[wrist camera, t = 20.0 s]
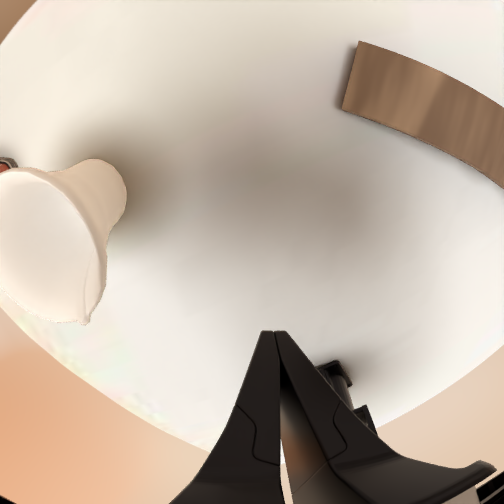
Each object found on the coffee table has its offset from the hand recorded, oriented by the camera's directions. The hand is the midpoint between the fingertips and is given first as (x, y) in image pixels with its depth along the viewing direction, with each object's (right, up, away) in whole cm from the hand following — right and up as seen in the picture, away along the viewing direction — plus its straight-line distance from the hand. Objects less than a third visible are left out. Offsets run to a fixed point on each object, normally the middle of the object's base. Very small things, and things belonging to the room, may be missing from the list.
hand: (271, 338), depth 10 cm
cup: (-12, +8, +10) cm, 18 cm away
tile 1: (+6, +14, +6) cm, 17 cm away
